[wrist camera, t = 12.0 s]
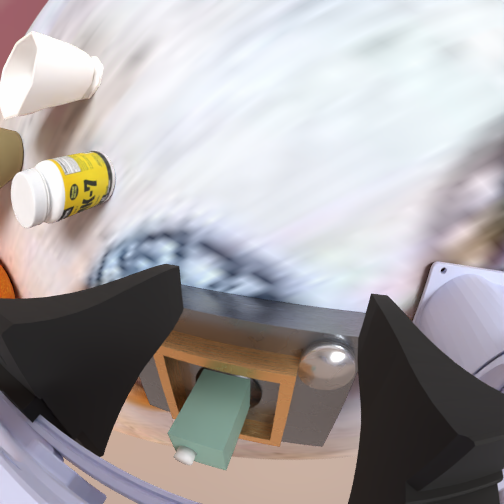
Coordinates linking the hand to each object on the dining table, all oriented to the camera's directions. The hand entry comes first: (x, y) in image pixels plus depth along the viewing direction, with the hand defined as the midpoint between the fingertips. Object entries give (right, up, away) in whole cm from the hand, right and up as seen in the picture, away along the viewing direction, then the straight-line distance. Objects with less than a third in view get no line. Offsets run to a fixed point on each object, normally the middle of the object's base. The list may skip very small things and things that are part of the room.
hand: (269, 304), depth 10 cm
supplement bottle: (-14, +8, +11) cm, 20 cm away
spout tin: (-3, -10, +12) cm, 16 cm away
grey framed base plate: (-2, -9, +15) cm, 17 cm away
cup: (-17, +17, +8) cm, 25 cm away
